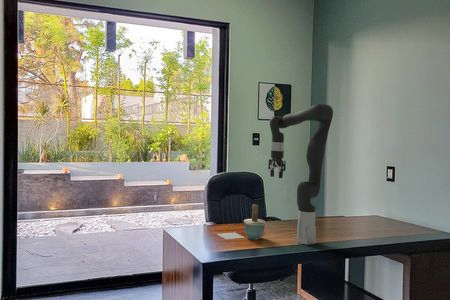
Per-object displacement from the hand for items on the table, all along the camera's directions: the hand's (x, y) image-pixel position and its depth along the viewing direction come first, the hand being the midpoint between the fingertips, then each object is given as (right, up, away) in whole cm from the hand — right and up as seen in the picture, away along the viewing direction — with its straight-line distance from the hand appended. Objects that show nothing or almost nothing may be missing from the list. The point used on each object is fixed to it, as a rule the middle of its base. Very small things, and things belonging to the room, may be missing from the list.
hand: (276, 177), depth 227 cm
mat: (-27, -32, -12) cm, 44 cm away
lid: (-14, -24, -16) cm, 32 cm away
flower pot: (-14, -33, -15) cm, 39 cm away
